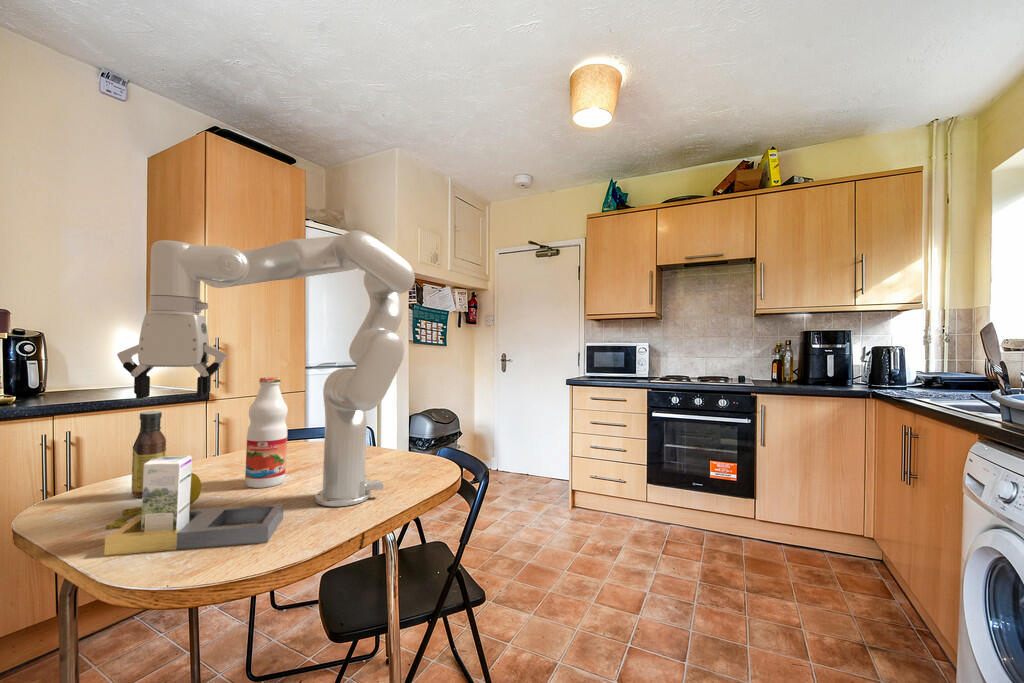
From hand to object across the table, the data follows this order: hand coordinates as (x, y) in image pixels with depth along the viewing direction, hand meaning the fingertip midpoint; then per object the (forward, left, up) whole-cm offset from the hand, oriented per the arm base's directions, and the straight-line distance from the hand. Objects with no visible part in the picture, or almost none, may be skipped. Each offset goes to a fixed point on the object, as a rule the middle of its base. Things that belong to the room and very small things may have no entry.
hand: (173, 397), depth 82 cm
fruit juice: (-9, -32, -27) cm, 43 cm away
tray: (-6, 0, -26) cm, 27 cm away
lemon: (+3, -16, -27) cm, 31 cm away
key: (+12, -12, -27) cm, 32 cm away
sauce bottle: (+15, -27, -27) cm, 41 cm away
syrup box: (0, 0, -26) cm, 26 cm away
